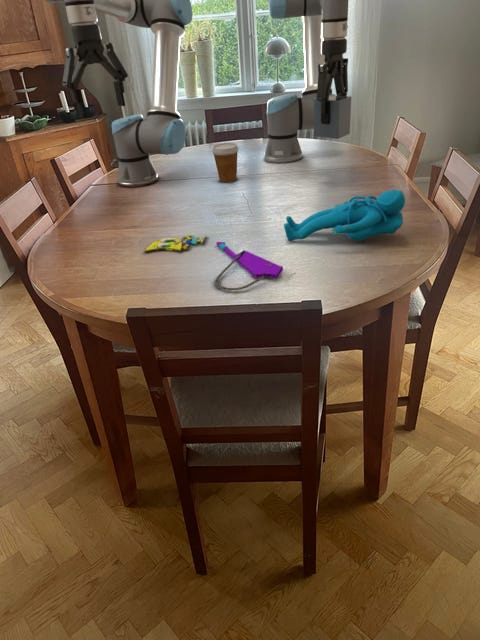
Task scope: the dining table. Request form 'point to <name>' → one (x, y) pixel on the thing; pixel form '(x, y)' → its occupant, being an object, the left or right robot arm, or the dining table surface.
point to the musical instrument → (250, 266)
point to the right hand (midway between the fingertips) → (331, 120)
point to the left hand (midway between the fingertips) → (102, 110)
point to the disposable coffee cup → (226, 161)
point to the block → (333, 118)
